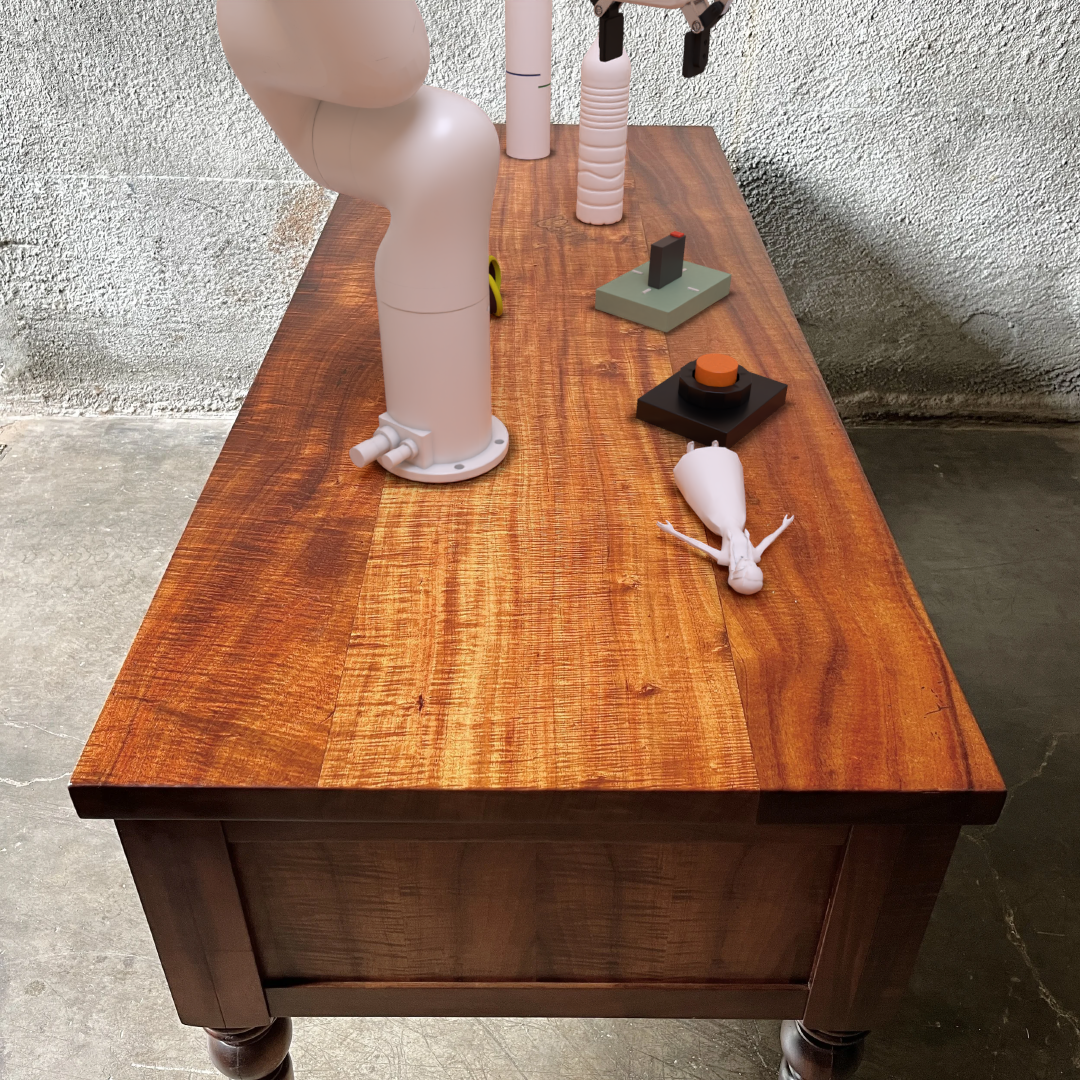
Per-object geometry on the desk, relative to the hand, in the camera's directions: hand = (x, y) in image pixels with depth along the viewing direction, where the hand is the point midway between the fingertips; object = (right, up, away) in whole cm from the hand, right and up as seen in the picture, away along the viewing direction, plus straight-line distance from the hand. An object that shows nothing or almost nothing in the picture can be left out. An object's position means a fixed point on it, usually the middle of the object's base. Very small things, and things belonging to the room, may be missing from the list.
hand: (651, 66), depth 102 cm
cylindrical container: (-13, +17, +68) cm, 71 cm away
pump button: (+6, -31, -1) cm, 31 cm away
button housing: (+6, -34, +1) cm, 34 cm away
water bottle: (-2, 0, +45) cm, 45 cm away
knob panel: (+4, -18, +22) cm, 29 cm away
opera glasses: (-18, -19, +21) cm, 33 cm away
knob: (+4, -16, +20) cm, 26 cm away
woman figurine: (+4, -46, -15) cm, 49 cm away
